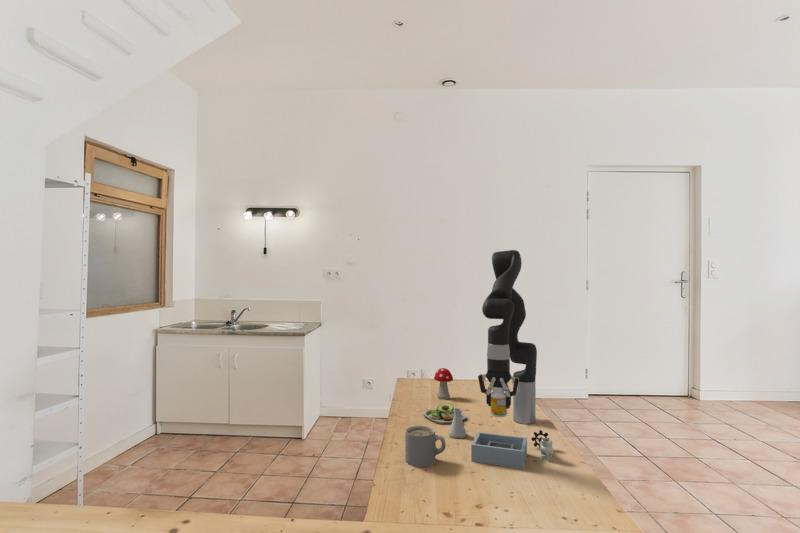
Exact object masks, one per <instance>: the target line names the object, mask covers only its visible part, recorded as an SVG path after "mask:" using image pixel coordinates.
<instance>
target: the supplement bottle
mask: <svg viewBox="0 0 800 533" xmlns="http://www.w3.org/2000/svg"><path fill="white" fill-rule="evenodd" d="M506 396H507V395H506V393H505V391H504V389H503V387H494V386H493V388H492V391H491V406H490V415H491V416H492V417H493V418H494V417H496V418H505V417H506V416H507V414H508V413H507V412H508V411H507V410H508V408H506Z"/></svg>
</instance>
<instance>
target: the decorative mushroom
mask: <svg viewBox="0 0 800 533" xmlns="http://www.w3.org/2000/svg"><path fill="white" fill-rule="evenodd" d="M433 380H434V381H437V382H439V385H438V391H437V394H436V396H437V398H438V399H439V398H440V399H439V400H444V399H447V400H449V399H450V397H451V394H450V392H449V387H448V386H449V385H448V383H449V382H452V381H453V380H454V378H453V374H452V373H451V371H450V369H447V368H444V367H442V368H438V370H436V372H435V373H434V377H433Z"/></svg>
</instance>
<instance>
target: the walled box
mask: <svg viewBox="0 0 800 533" xmlns="http://www.w3.org/2000/svg"><path fill="white" fill-rule="evenodd" d="M470 445H471V452H470V453H471V456H470V457H471V458H470V460H471V462H474V463H479V464H487V465H488V464H489V465H495V466H501V467H508V468H516V469H522V470H524V469H525V466H526V461H527V455H528V437H524V436H515V435H508V434H507V435H506V434H499V433H491V432H482V431H477V433H476V435H475V437H474V439H473V440H472V443H471V444H470Z"/></svg>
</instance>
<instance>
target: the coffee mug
mask: <svg viewBox="0 0 800 533" xmlns="http://www.w3.org/2000/svg"><path fill="white" fill-rule="evenodd" d="M404 438H405V442H404V443H405V445H404V446H405V449H404V451H405V452H404V453H405V457H404V458H405V463H406V464H407V463H408V464H407V465H409V466H411V465H412V467H416V468H427V467H430V466H432V465H434V464H435V463H436V456H437V455H439V454H441V453H443V452H444V451H446V450H445V449H446V447H447V446H446V445H447V444H446V440H445V438H444V436H443V435H441V434H440V435H439V434H436V431H435V429H434V428H433V427H430V426H427V425H413V426H412V425H411V426H408V427H407V428H405V437H404ZM438 440H439V441H440V442H441V446H440V447H439V448H438V447H437V446H436V444H437V443H436V442H437V441H438Z"/></svg>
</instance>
